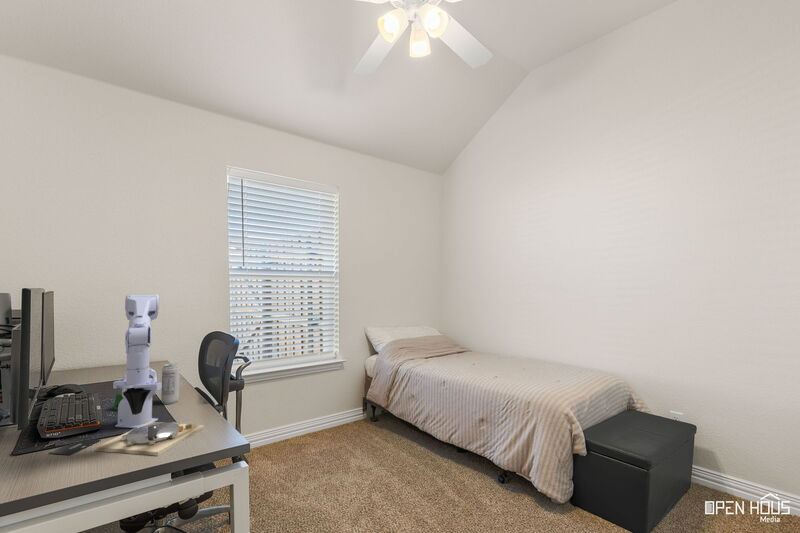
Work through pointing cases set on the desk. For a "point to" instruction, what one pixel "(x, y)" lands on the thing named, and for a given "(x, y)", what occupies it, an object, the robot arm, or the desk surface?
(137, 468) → the desk surface
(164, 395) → the energy drink can
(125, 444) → the board
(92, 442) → the solid state drive
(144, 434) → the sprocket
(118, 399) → the clamp
